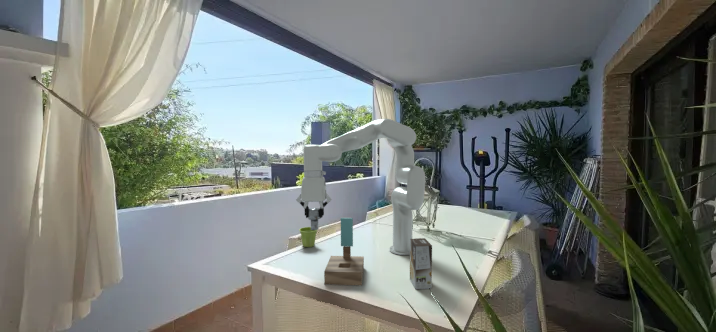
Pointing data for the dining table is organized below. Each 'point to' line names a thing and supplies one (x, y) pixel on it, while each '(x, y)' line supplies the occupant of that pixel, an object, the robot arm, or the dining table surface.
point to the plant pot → (308, 236)
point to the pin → (314, 217)
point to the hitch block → (344, 269)
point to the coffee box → (421, 263)
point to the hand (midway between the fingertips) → (314, 216)
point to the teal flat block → (346, 231)
